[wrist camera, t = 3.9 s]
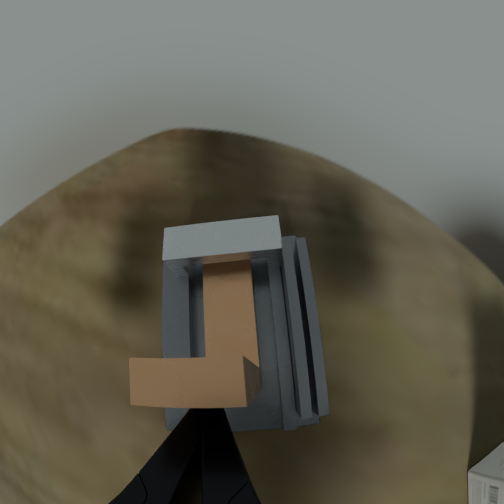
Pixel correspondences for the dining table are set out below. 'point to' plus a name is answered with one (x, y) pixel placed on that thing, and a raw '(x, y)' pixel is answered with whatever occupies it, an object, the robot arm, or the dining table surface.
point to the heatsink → (267, 317)
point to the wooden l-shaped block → (209, 350)
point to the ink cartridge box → (487, 479)
